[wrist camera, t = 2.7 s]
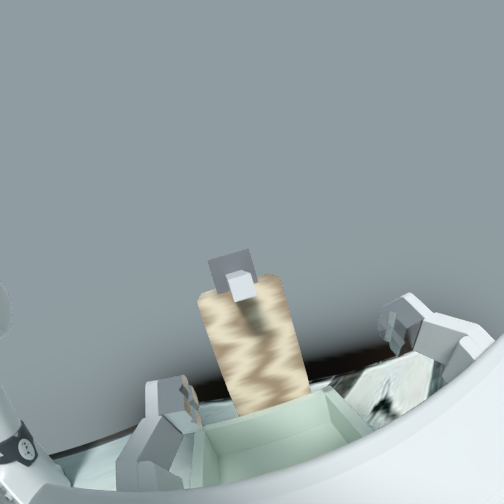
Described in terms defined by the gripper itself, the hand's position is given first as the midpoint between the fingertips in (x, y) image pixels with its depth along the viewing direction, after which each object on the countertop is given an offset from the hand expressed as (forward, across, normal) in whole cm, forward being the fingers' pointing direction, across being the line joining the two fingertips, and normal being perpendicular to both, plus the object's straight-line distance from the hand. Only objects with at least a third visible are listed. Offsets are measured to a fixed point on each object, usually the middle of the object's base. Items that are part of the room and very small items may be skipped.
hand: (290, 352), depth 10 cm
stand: (+16, 0, +40) cm, 42 cm away
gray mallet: (+23, 0, +14) cm, 27 cm away
